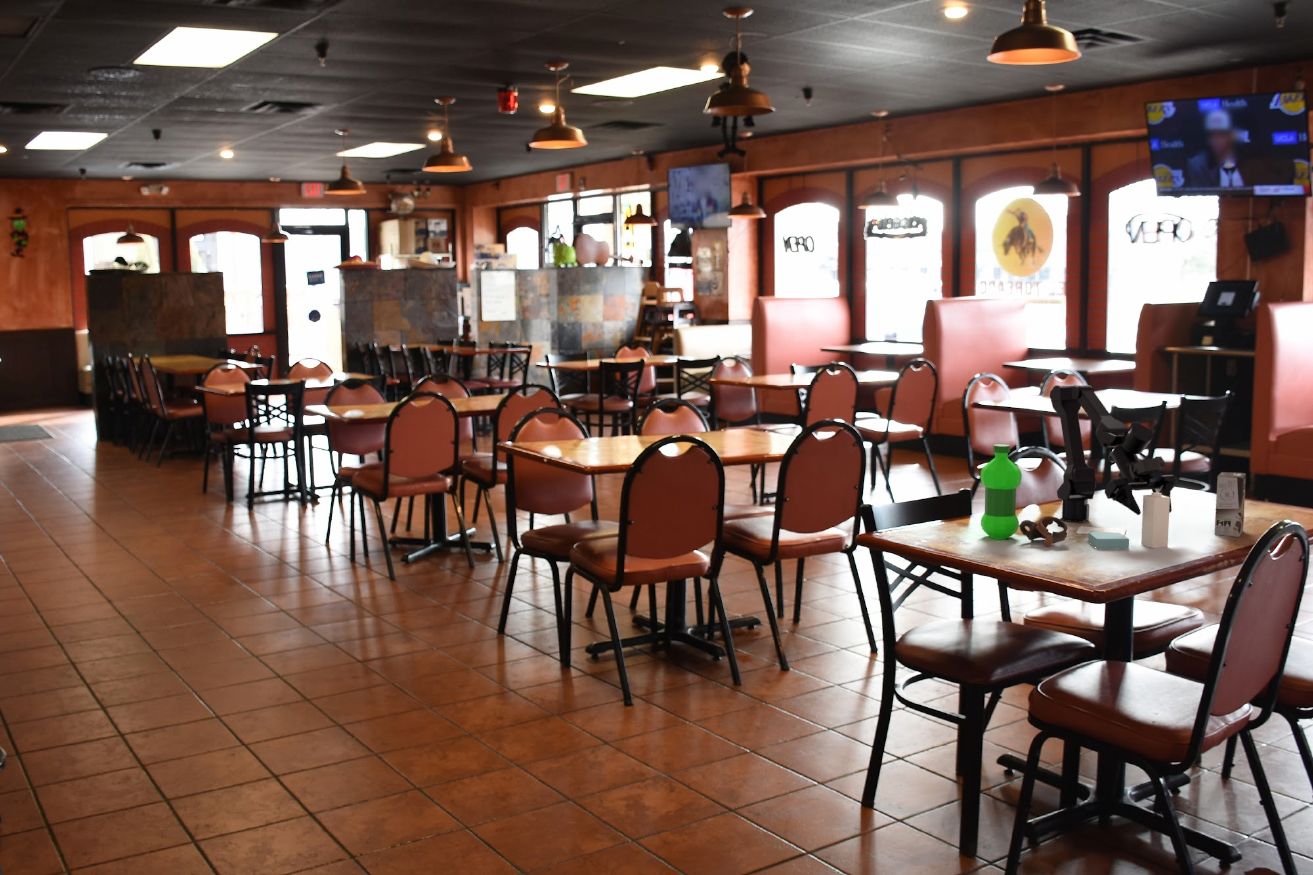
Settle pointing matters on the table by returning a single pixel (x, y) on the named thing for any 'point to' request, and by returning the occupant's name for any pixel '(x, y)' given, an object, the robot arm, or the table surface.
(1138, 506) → the robot arm
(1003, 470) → the plastic bottle
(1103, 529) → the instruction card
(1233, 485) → the coffee box
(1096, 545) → the base brick
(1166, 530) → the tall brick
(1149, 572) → the table surface
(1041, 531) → the brown curved loop piece
